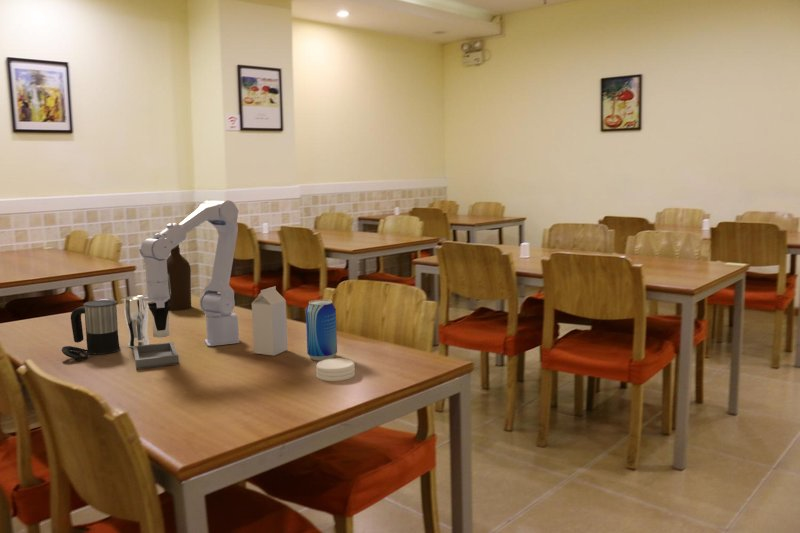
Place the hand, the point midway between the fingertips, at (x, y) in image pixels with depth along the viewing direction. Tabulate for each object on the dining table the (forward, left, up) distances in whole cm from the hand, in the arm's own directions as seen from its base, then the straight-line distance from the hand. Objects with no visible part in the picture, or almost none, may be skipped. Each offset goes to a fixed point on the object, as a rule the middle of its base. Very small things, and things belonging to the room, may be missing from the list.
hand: (160, 328), depth 189 cm
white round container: (-40, +37, -9) cm, 55 cm away
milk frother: (+18, -15, -9) cm, 25 cm away
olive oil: (-12, -73, -9) cm, 74 cm away
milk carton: (-30, +7, -9) cm, 32 cm away
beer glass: (+5, -19, -9) cm, 22 cm away
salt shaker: (0, 0, -2) cm, 2 cm away
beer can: (-42, +19, -9) cm, 47 cm away
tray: (+2, 0, -9) cm, 9 cm away
